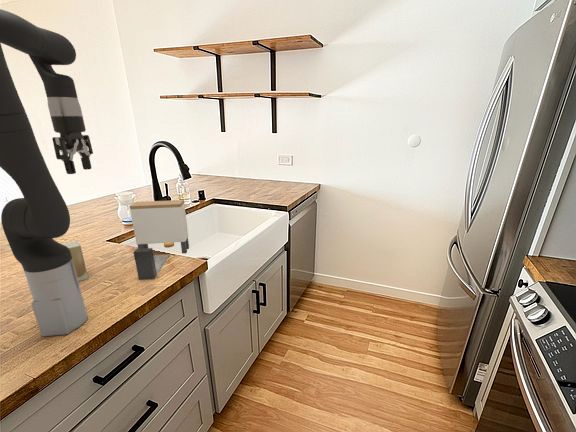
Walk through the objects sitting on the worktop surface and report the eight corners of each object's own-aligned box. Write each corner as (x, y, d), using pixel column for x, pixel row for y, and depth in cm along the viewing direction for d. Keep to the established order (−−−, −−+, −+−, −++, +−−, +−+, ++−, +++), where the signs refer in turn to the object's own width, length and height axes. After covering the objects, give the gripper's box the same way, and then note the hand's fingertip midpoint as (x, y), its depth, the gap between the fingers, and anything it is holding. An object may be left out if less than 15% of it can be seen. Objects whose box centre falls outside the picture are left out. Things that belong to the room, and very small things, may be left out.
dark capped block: (154, 278, 97) (149, 251, 94) (138, 279, 96) (133, 252, 93) (168, 257, 112) (164, 232, 109) (154, 257, 112) (150, 233, 109)
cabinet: (186, 253, 115) (180, 204, 109) (138, 256, 113) (129, 206, 107) (189, 247, 121) (183, 199, 115) (144, 249, 119) (135, 201, 113)
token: (172, 247, 121) (172, 244, 121) (162, 248, 121) (162, 245, 121) (175, 244, 125) (175, 241, 125) (166, 244, 125) (165, 241, 124)
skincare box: (69, 276, 99) (60, 243, 95) (84, 272, 102) (76, 239, 98) (73, 283, 95) (64, 249, 91) (89, 278, 97) (80, 245, 94)
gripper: (65, 114, 77) (79, 175, 83) (93, 115, 91) (104, 167, 96) (34, 114, 77) (51, 176, 82) (67, 115, 90) (80, 168, 95)
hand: (80, 171), depth 89 cm, fingers open, 8 cm apart
